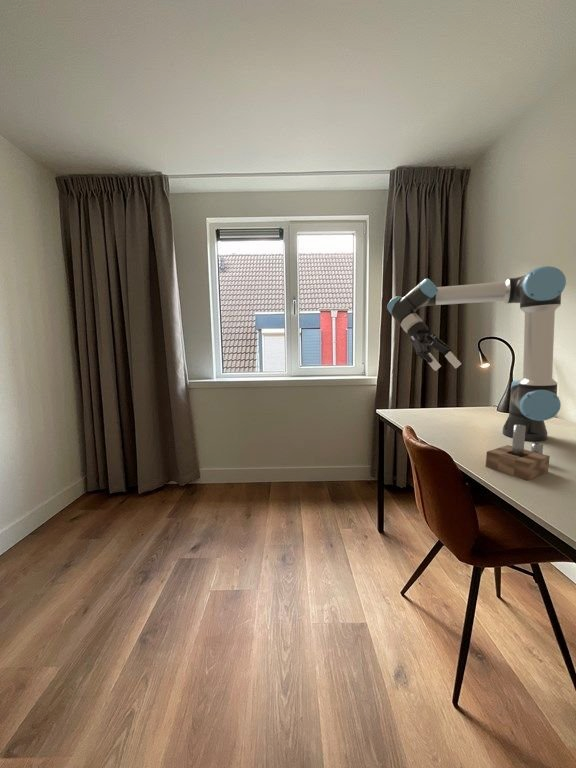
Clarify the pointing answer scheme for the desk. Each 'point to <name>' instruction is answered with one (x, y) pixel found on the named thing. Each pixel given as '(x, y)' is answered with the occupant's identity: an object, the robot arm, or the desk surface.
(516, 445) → the long pin
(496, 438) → the desk surface
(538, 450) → the short pin
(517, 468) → the block
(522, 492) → the desk surface
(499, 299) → the robot arm
